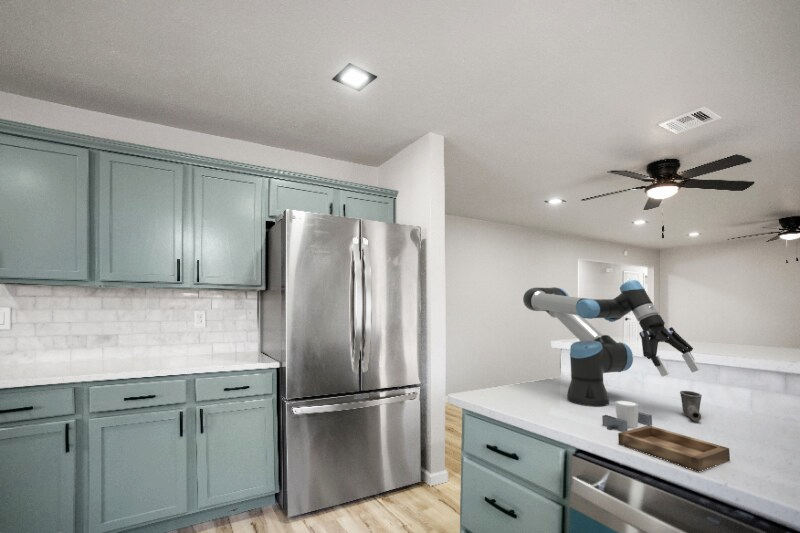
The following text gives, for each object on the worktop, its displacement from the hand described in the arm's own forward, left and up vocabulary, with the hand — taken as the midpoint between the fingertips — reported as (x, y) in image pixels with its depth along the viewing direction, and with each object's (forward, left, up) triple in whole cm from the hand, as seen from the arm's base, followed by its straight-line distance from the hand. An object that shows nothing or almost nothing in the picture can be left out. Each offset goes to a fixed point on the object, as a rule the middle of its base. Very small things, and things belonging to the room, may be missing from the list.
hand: (681, 373), depth 134 cm
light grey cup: (-5, -24, -15) cm, 29 cm away
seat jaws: (-5, -24, -15) cm, 29 cm away
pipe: (+1, +3, -16) cm, 16 cm away
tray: (+14, -35, -15) cm, 40 cm away
